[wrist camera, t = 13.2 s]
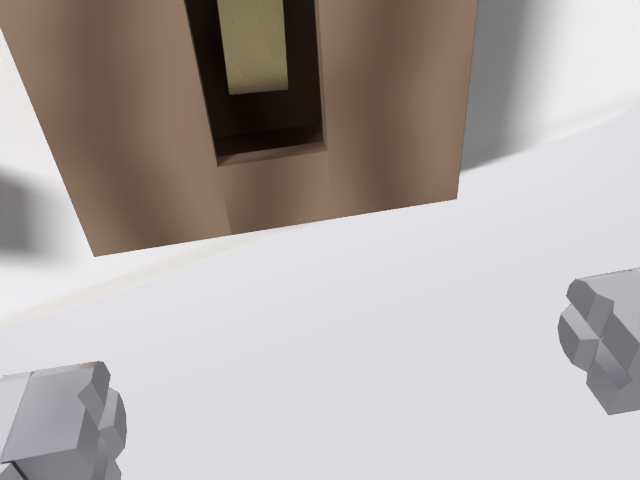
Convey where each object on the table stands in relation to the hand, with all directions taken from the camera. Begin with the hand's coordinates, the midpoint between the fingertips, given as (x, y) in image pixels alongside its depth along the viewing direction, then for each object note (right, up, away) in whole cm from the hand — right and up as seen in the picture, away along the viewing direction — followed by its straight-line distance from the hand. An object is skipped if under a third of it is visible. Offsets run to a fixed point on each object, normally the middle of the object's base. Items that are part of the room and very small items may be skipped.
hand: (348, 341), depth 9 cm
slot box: (-5, +15, +20) cm, 25 cm away
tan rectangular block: (-4, +14, +19) cm, 24 cm away
